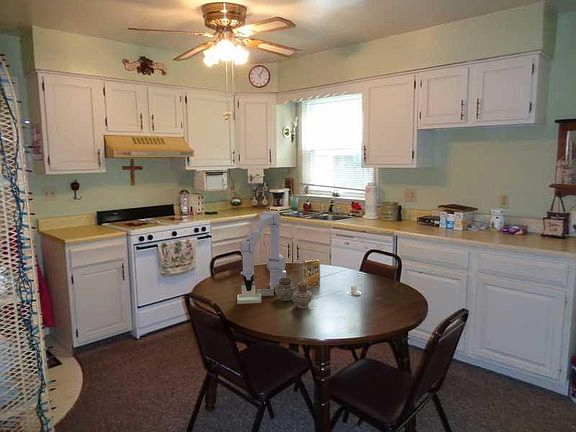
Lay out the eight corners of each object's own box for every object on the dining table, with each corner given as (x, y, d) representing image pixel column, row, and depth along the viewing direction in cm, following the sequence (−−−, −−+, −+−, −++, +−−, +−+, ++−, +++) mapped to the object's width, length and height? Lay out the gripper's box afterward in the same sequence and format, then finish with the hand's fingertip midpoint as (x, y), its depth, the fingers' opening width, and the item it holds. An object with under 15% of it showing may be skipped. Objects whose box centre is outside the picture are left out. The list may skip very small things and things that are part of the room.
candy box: (306, 288, 240) (306, 262, 238) (303, 286, 244) (303, 260, 242) (320, 286, 243) (320, 260, 241) (317, 284, 247) (317, 258, 245)
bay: (273, 291, 235) (272, 284, 235) (273, 295, 229) (273, 288, 228) (256, 292, 234) (256, 285, 234) (256, 296, 228) (256, 289, 227)
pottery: (300, 312, 205) (300, 288, 203) (270, 298, 224) (269, 276, 222) (318, 306, 212) (318, 283, 210) (287, 294, 231) (286, 272, 229)
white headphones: (360, 297, 226) (361, 289, 225) (345, 296, 227) (345, 288, 227) (361, 291, 234) (361, 284, 234) (347, 291, 236) (347, 284, 235)
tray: (260, 296, 227) (260, 293, 227) (261, 302, 218) (261, 299, 218) (237, 297, 226) (237, 294, 226) (237, 303, 217) (237, 300, 217)
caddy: (255, 293, 224) (255, 281, 223) (255, 295, 220) (255, 283, 219) (240, 294, 223) (240, 281, 222) (240, 296, 219) (240, 284, 218)
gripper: (240, 260, 226) (241, 285, 228) (240, 267, 212) (240, 294, 214) (254, 260, 226) (254, 285, 228) (254, 267, 212) (255, 293, 214)
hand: (249, 289), depth 221 cm, fingers closed on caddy, 4 cm apart
